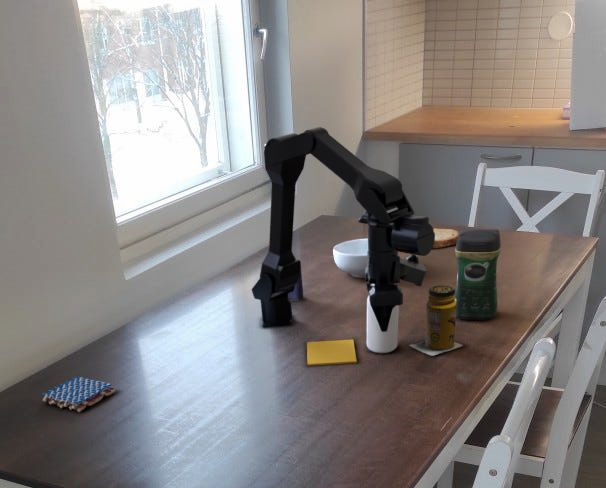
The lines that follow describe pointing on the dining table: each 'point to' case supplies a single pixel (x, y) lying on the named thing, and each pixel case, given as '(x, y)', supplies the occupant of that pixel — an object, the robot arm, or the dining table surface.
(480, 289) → the coffee jar
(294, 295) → the flask
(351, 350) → the cloth
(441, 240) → the slice of bread
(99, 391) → the woven mat
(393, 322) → the can
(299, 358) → the dining table surface
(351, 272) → the cereal bowl
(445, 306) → the condiment
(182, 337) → the dining table surface
